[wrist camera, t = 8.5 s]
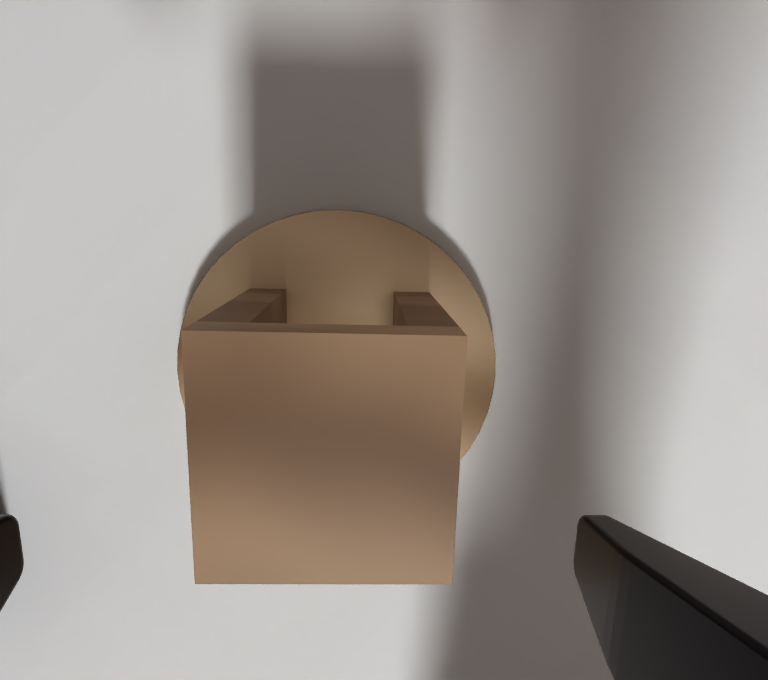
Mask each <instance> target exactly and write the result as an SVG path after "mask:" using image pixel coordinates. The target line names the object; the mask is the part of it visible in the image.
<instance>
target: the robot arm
mask: <svg viewBox="0 0 768 680" xmlns="http://www.w3.org/2000/svg"><path fill="white" fill-rule="evenodd" d="M23 564H24V559H23V552H22V545H21V538H20V531H19V525H18V521H17V519H16V518H15V517H13V516H12V515H0V611H1V609H2V608H3V606H4V604H5V603H6V601H7V599H8V597H9V596H10V594H11V592H12V591H13V589H14V587H15V586H16V584H17V582H18V581H19V579H20V576H21V574H22V571H23ZM574 571H575V575H576V578H577V581H578V584H579V587H580V590H581V592H582V595H583V598H584V601H585V604H586V607H587V609H588V612H589V615H590V618H591V621H592V623H593V626H594V629H595V632H596V635H597V638H598V640H599V643H600V646H601V649H602V651H603V654H604V657H605V659H606V662H607V664H608V667H609V669H610V671H611V673H612V676H613V678H614V680H768V595H766V594H764V593H762V592H760V591H758V590H756V589H754V588H752V587H750V586H748V585H746V584H744V583H742V582H740V581H738V580H736V579H734V578H732V577H730V576H728V575H726V574H724V573H722V572H720V571H718V570H716V569H714V568H712V567H710V566H708V565H706V564H704V563H702V562H700V561H698V560H696V559H694V558H692V557H689V556H687V555H685V554H683V553H681V552H679V551H677V550H675V549H673V548H671V547H669V546H667V545H665V544H663V543H661V542H659V541H657V540H655V539H653V538H651V537H649V536H647V535H645V534H643V533H641V532H639V531H637V530H635V529H633V528H631V527H629V526H627V525H625V524H623V523H621V522H619V521H617V520H615V519H613V518H611V517H609V516H606V515H584V516H582V517H581V518H580V519H579V522H578V526H577V535H576V544H575V553H574Z"/></svg>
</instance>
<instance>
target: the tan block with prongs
mask: <svg viewBox="0 0 768 680" xmlns="http://www.w3.org/2000/svg"><path fill="white" fill-rule="evenodd" d="M181 340H182V358H183V376H184V395H185V413H186V431H187V449H188V467H189V486H190V504H191V522H192V540H193V558H194V576H195V584H452V579H453V563H454V547H455V531H456V514H457V498H458V482H459V466H460V450H461V433H462V417H463V401H464V385H465V369H466V353H467V335H466V334H465V333H464V331H463V330H462V329H461V328H460V327H459V326H458V325H457V323H456V322H455V321H454V320H453V319H452V318H451V316H450V315H449V314H448V313H447V312H446V311H445V310H444V308H443V307H442V306H441V305H440V304H439V303H438V302H437V300H436V299H435V298H434V297H433V296H432V295H431V294H430V292H394V303H393V325H344V324H294V323H287V302H286V289H261V288H250V289H248V290H246V291H245V292H243V293H242V294H240V295H238V296H237V297H235V298H233V299H232V300H230V301H228V302H227V303H225V304H223V305H222V306H220V307H219V308H217V309H215V310H214V311H212V312H210V313H209V314H207V315H205V316H204V317H202V318H201V319H199V320H197V321H196V322H194V323H192V324H191V325H189V326H187V327H186V328H184V329H182V330H181Z"/></svg>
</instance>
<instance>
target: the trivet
mask: <svg viewBox="0 0 768 680" xmlns="http://www.w3.org/2000/svg"><path fill="white" fill-rule="evenodd" d="M250 288H261V289H286V302H287V323H294V324H344V325H393V303H394V292H430V294H431V295H432V296H433V297H434V298H435V299H436V300H437V302H438V303H439V304H440V305H441V306H442V307H443V308H444V310H445V311H446V312H447V313H448V314H449V315H450V316H451V318H452V319H453V320H454V321H455V322H456V323H457V325H458V326H459V327H460V328H461V329H462V330H463V331H464V333H465V334H466V335H467V353H466V369H465V385H464V401H463V417H462V433H461V450H460V460H461V459H462V457H463V456H464V455H465V453H466V452H467V451H468V450H469V448H470V447H471V445H472V443H473V442H474V440H475V438H476V437H477V435H478V433H479V432H480V429H481V427H482V425H483V422H484V420H485V418H486V415H487V413H488V409H489V406H490V402H491V398H492V395H493V388H494V381H495V349H494V341H493V334H492V331H491V327H490V323H489V320H488V316H487V314H486V311H485V309H484V307H483V304H482V302H481V300H480V297H479V295H478V294H477V292H476V290H475V289H474V287H473V285H472V284H471V282H470V280H469V279H468V277H467V276H466V275H465V274H464V272H463V271H462V270H461V269H460V267H459V266H458V265H457V264H456V262H455V261H453V260H452V259H451V258H450V257H449V256H448V255H447V254H446V253H445V252H444V251H443V250H442V249H441V248H440V247H438V246H437V245H436V244H434V243H433V242H432V241H430V240H429V239H427V238H426V237H425V236H423V235H422V234H420V233H418V232H416V231H414V230H412V229H410V228H409V227H407V226H405V225H403V224H400V223H398V222H395V221H392V220H390V219H387V218H384V217H381V216H377V215H372V214H368V213H364V212H356V211H345V210H325V211H313V212H308V213H302V214H297V215H293V216H290V217H287V218H284V219H280V220H277V221H274V222H272V223H270V224H268V225H266V226H264V227H262V228H260V229H258V230H256V231H254V232H252V233H251V234H249V235H248V236H246V237H245V238H243V239H242V240H240V241H239V242H237V243H236V244H235V245H234V246H232V247H231V248H230V249H229V250H228V251H227V252H226V253H225V254H223V255H222V256H221V257H220V258H219V259H218V260H217V262H216V263H215V264H214V265H213V266H212V268H211V269H210V270H209V271H208V272H207V273H206V275H205V276H204V278H203V280H202V281H201V283H200V284H199V286H198V288H197V289H196V291H195V293H194V295H193V297H192V299H191V301H190V304H189V306H188V308H187V310H186V313H185V317H184V320H183V324H182V327H181V330H182V329H184V328H186V327H187V326H189V325H191V324H192V323H194V322H196V321H197V320H199V319H201V318H202V317H204V316H205V315H207V314H209V313H210V312H212V311H214V310H215V309H217V308H219V307H220V306H222V305H223V304H225V303H227V302H228V301H230V300H232V299H233V298H235V297H237V296H238V295H240V294H242V293H243V292H245V291H246V290H248V289H250ZM177 371H178V379H179V386H180V392H181V396H182V400H183V403H184V407H185V395H184V376H183V358H182V340H181V331H180V338H179V344H178V366H177Z"/></svg>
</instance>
